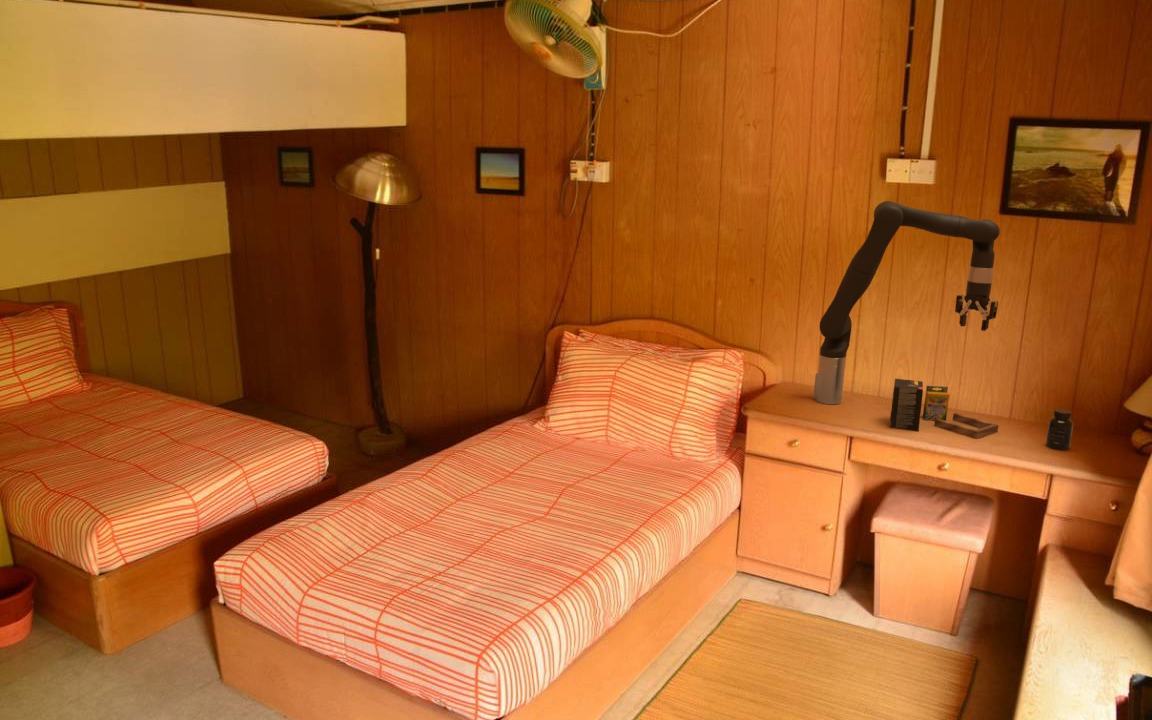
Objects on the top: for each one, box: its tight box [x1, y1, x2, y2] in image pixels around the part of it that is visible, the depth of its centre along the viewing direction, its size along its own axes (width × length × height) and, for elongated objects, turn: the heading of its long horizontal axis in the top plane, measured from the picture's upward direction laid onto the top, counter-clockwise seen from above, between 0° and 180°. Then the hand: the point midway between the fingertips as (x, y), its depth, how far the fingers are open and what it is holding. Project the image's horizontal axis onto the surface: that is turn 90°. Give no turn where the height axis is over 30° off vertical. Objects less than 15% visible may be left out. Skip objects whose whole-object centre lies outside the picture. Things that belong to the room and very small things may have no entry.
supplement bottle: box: [1045, 408, 1074, 451], centre depth 291 cm, size 7×7×12 cm
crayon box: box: [922, 385, 950, 421], centre depth 315 cm, size 7×3×12 cm, turn 83°
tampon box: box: [889, 378, 924, 432], centre depth 308 cm, size 11×9×15 cm
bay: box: [933, 412, 999, 440], centre depth 307 cm, size 16×12×2 cm
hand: (973, 328), depth 311 cm, fingers open, 7 cm apart
